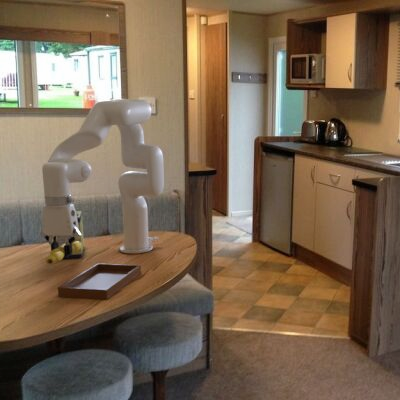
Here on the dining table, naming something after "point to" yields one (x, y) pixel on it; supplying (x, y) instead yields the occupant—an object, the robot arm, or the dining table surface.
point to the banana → (61, 252)
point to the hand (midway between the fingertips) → (62, 255)
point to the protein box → (80, 227)
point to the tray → (99, 281)
